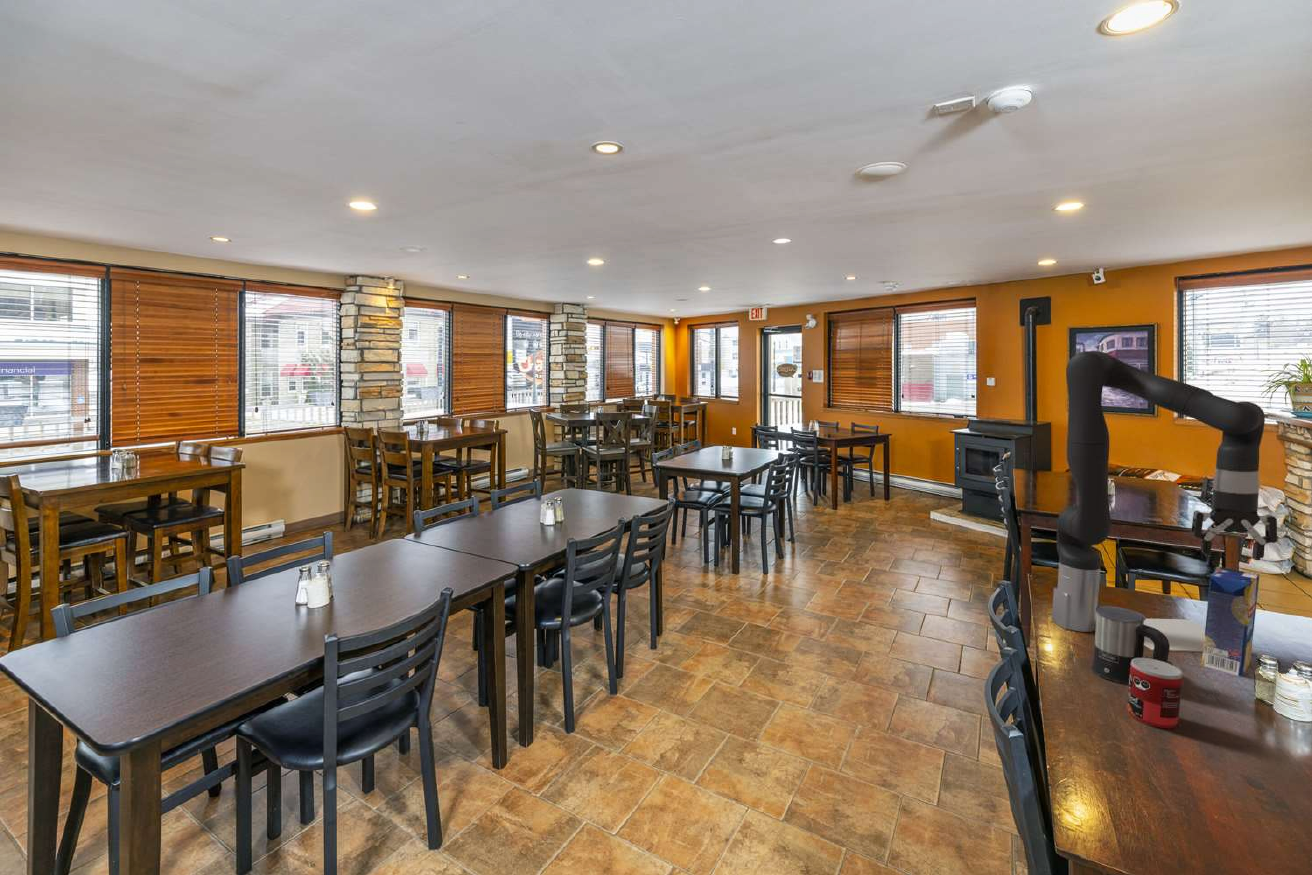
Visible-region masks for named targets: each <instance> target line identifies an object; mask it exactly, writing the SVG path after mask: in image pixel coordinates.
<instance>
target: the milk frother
mask: <svg viewBox="0 0 1312 875" xmlns="http://www.w3.org/2000/svg"><path fill="white" fill-rule="evenodd" d="M1095 611H1096V612H1097V615H1096V629H1095V634H1094V652H1093V661H1092V666H1091V668H1090V669H1091V671H1092V672H1093V673H1094V674H1096V675H1097V676H1099V677H1101V678H1103V679H1106V680H1109V681H1112V682H1116V683H1120V684H1128V685H1129V677H1130V666H1131V661H1132V659H1134V658H1149V659H1154V660H1159V661H1162V662H1165V663H1168V664H1170V665H1173V666H1174V664H1173V663H1172V662H1171V661H1169V653H1170V651H1169V647H1170V646H1169V641H1168V639H1167V638H1166V636H1165V635H1164V634H1163V633H1162V632H1160V631H1159V630H1157V629H1155V628H1153V627H1150V626H1147V625H1144V621H1145V620H1146V619H1147V618H1146V616H1144V615H1143V614H1141V613H1140V612H1137V611H1135V610H1131V609H1129V608H1124V607H1117V606H1110V605H1106V606H1104V605H1103V606H1097V608H1096V609H1095ZM1144 637H1147V638H1149V639H1151V640H1152V641H1153V643H1154V650H1153V654H1152V657H1148V656H1147V655H1146V656H1144V648H1145V645H1144Z"/></svg>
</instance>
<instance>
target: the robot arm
mask: <svg viewBox="0 0 1312 875" xmlns="http://www.w3.org/2000/svg"><path fill="white" fill-rule="evenodd" d="M1065 377H1066V385H1067V395H1068V415H1067V433H1066V434H1067V436H1066V461H1067V465H1068V468H1069V472H1070V474H1071V475H1072V478H1073V480H1074V482H1075V485H1076V489H1077V494H1078V504H1077V505H1076V504H1071V505H1069V506H1066V507H1064V508H1063V510H1061V512H1060V513H1059V515H1058V519H1057V524H1056V525H1057V526H1056V550H1057V554H1058V558H1059V562H1058V572H1057V573H1058V575H1057V577H1058V578H1057V587H1053V593H1052V594H1053V595H1052V596H1053V597H1052V611H1051V621H1053V622H1054V623H1055V624H1056V625H1058V626H1060V627H1061V628H1062V629H1064V630H1071V631H1075V632H1076V631H1077V632H1082V633H1083V632H1084V633H1089V632H1090V633H1091V632H1094V631H1096V615H1097V612H1096V611H1095V609H1096V608H1097V607H1098V603H1099V588H1100V580H1101V579H1100V577H1101V576H1100V575H1101V567H1102V566H1101V564H1102V560H1101V557H1100V556H1099V555H1098V554H1097V552H1096V551H1095V549H1094V548H1093V546H1097V545H1100V544H1103V543H1104V542H1105V541H1106V540H1107V539H1108V537H1109V535H1110V532H1111V528H1112V527H1111V524H1112V523H1111V522H1112V521H1111V520H1112V519H1111V511H1110V501H1109V500H1110V499H1109V462H1110V432H1109V428H1108V425H1107V420H1106V418H1105V415H1104V412H1103V405H1102V398H1103V387H1108V388H1111V389H1116V390H1121V391H1123V392H1125V393H1126V392H1127V393H1129V394H1132V395H1135V396H1136V397H1139V398H1141V399H1143V400H1145V401H1147V402H1148V403H1151V404H1153V405H1154V406H1157V407H1159V408H1162V409H1165V410H1168V411H1170V412H1173V413H1176V414H1179V415H1181V416H1182V415H1183V416H1185V417H1189V418H1192V419H1195V420H1196V421H1198V422H1201V423H1203V424H1204V425H1207V426H1209V427H1212V428H1214V429H1216V430H1217V431H1218V430H1219V431H1221V432H1222V434H1221V435H1222V436H1221V439H1222V440H1221V443H1220V445H1218V448H1217V451H1216V461H1215V462H1216V463H1215V471H1214V476H1213V483H1212V488H1213V489H1212V490H1213V491H1212V506H1211V507H1212V508H1211V511H1210V512H1203V511H1200V510H1194V511H1193V515H1192V521H1191V522H1192V523H1191V524H1192V525H1191V530H1190V533H1191V535H1193V536H1194V538H1199V539H1200V551H1201V553H1203V555H1205V557H1211V555H1212V543H1213V542H1212V539H1213V538H1214V537H1215V536H1218V535H1220V533H1222V532H1224V533H1228V534H1230V533H1238V534H1244V533H1247V534H1248V535H1249V536H1250V537H1251V538H1252V540H1254V541H1253V542H1252V555H1251V557H1252V559H1253V560H1255V561H1261V559H1263V558H1264V557H1265V548H1266V545H1267V544H1275V543H1277V542H1278V520H1277V519H1278V518H1277V517H1275V516H1273V515H1272V514H1269V513H1268V514H1266V515H1259V514H1258V511H1259V510H1258V509H1259V508H1258V507H1259V492H1260V476H1259V475H1260V474H1259V471H1260V470H1259V467H1260V446H1261V442H1262V439H1263V435H1264V434H1263V433H1264V429H1265V423H1266V419H1265V418H1266V416H1265V412H1264V410H1263V409H1262V407H1261V406H1260V405H1258V404H1256V403H1255V402H1251V401H1234V400H1232V399H1231V400H1230V399H1227V398H1224V397H1221V396H1217V395H1214V394H1213V393H1212V392H1211V391H1209V390H1206V389H1204V388H1201V387H1199V386H1195V385H1191V384H1188V383H1186V382H1183V381H1178V380H1175V379H1172V378H1168V377H1164V376H1161V375H1158V374H1156V373H1155V374H1154V373H1151V372H1148V371H1145V370H1142V369H1141V368H1138V367H1135V366H1133V365H1130V364H1128V363H1125V362H1124V361H1122V360H1120V359H1117V358H1115V356H1111V355H1110V354H1108V353H1106V352H1103V351H1099V350H1087V351H1082V352H1078V353H1076V354H1075V355H1073V356H1071V358H1070V359H1069V361H1068V362H1067V365H1066V369H1065ZM1207 519H1210V520H1211V521H1212V522H1213V523H1211V524H1210V525H1209V526H1207V528H1206V530H1204V531H1203V532H1202V530H1203V524H1204V523H1205V522H1206V521H1207ZM1259 522H1261V524H1262V525H1264V532H1265V533H1264V536H1262V535H1261V534H1260V533H1259V532H1258V531H1257V530H1256V528H1255V526H1256V525H1257V524H1258V523H1259Z"/></svg>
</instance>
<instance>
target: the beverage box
mask: <svg viewBox="0 0 1312 875" xmlns="http://www.w3.org/2000/svg"><path fill="white" fill-rule="evenodd" d="M1259 584H1260V574H1259V573H1254V572H1253V573H1252V572H1248V571H1244V570H1243V571H1242V570H1236V569H1232V568H1226V567H1222V566H1221V567H1219V568H1218V569H1217V570H1215V572H1213V573H1212V574H1211V575H1210V577H1209V585H1208V586H1209V587H1208V596H1207V598H1208V599H1207V608H1206V618H1205V627H1204V628H1205V637H1204V647H1203V652H1202V657H1201V658H1202V660H1201V666H1203V667H1206V668H1209V669H1212V670H1217V671H1220V672H1223V673H1227V674H1230V675H1233V676H1237V677H1242V676H1243V675H1244V673H1245V672H1246V670H1247V669H1248V667H1249V666H1250V664H1251V660H1252V653H1251V651H1253V642H1254V641H1253V639H1254V630H1255V621H1256V612H1257V611H1256V610H1257V601H1258V591H1259Z"/></svg>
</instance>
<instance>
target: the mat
mask: <svg viewBox="0 0 1312 875" xmlns="http://www.w3.org/2000/svg"><path fill="white" fill-rule="evenodd" d="M1144 625H1147V626H1150V627H1153V628H1155V629H1157V630H1159V631H1160V632H1162V633H1163V634H1164V635H1165V636H1166V638H1167V639H1168V641H1169V646H1170V647H1169V652H1191V653H1192V652H1196V653H1198V652H1199V653H1200V652H1201V653H1203V647H1204V637H1205V627H1204V626H1203V625H1200V624H1198V623H1196V622H1194V621H1192V620H1190V619H1186V618H1185V619H1180V618H1177V619H1176V618H1174V619H1173V618H1146V620H1145V621H1144ZM1144 647H1146V648H1148V649H1150V650H1151V651H1154V643H1153V641H1152V640H1151V639H1149V638H1147V637H1144ZM1254 653H1255V652H1254V651H1253V650H1252V651H1251V654H1254Z"/></svg>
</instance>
